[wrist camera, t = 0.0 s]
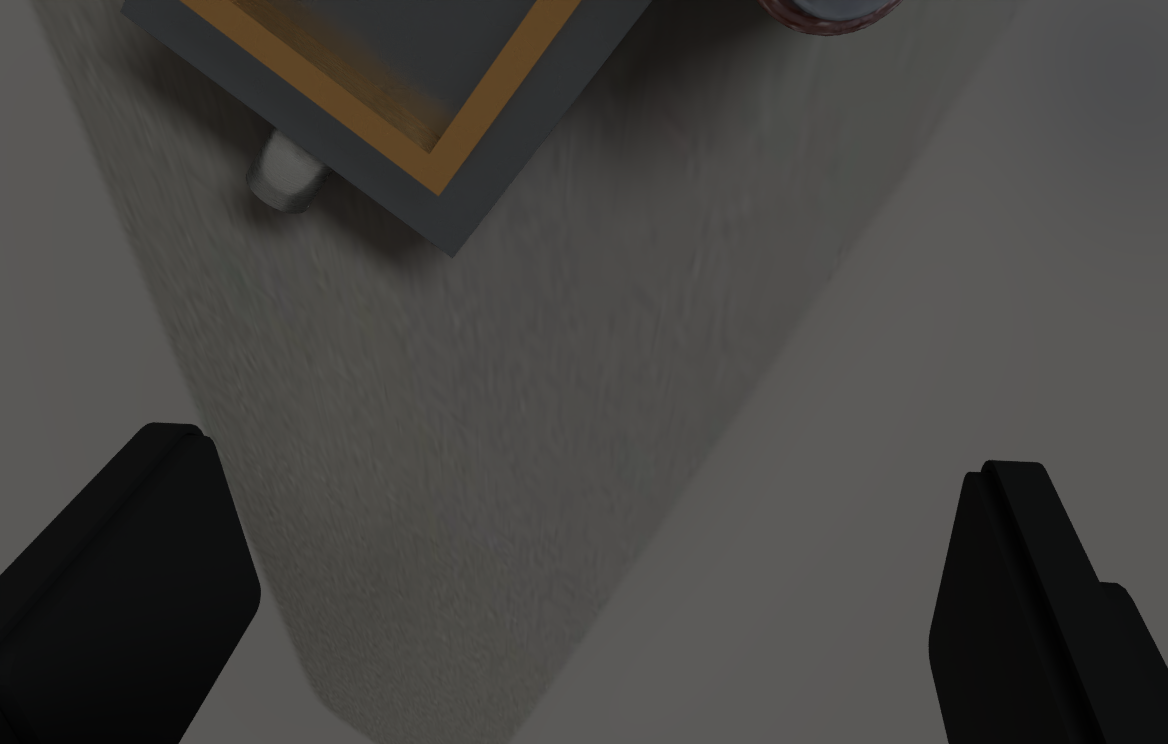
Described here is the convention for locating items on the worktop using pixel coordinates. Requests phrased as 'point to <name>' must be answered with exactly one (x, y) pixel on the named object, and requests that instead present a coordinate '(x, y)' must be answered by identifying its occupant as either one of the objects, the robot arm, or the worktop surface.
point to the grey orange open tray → (396, 91)
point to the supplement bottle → (828, 14)
